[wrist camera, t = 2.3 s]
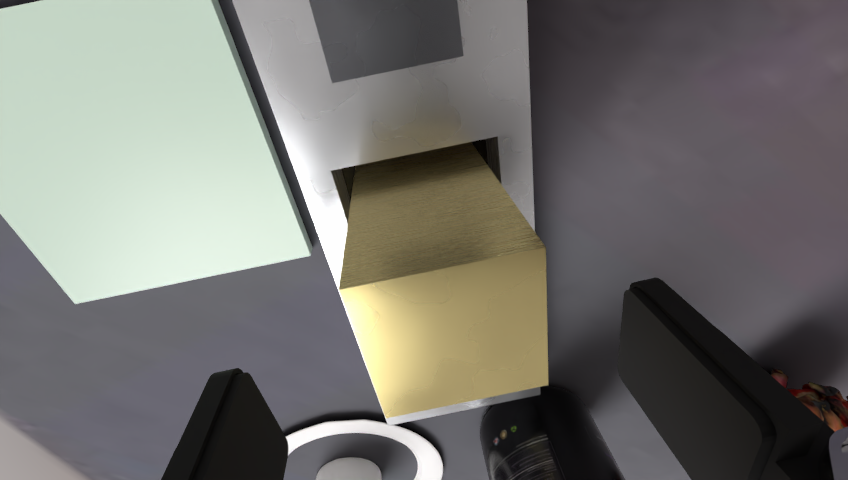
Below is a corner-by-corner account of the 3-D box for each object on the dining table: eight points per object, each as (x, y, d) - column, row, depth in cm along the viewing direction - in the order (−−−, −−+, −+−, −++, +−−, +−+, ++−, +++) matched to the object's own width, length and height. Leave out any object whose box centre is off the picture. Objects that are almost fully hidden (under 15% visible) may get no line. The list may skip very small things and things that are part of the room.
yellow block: (356, 163, 15) (338, 290, 8) (469, 139, 15) (545, 247, 8) (382, 258, 18) (386, 418, 11) (481, 237, 18) (548, 385, 11)
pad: (-122, 37, 12) (-145, 38, 11) (206, -31, 12) (198, -32, 11) (84, 295, 17) (74, 304, 16) (312, 248, 17) (310, 255, 16)
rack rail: (208, -126, 11) (174, -153, 9) (496, -185, 11) (520, -225, 9) (387, 393, 22) (388, 427, 20) (527, 364, 22) (541, 396, 20)
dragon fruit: (688, 443, 31) (712, 314, 26) (840, 490, 27) (900, 345, 22) (688, 551, 24) (720, 404, 20) (889, 636, 20) (990, 473, 15)
